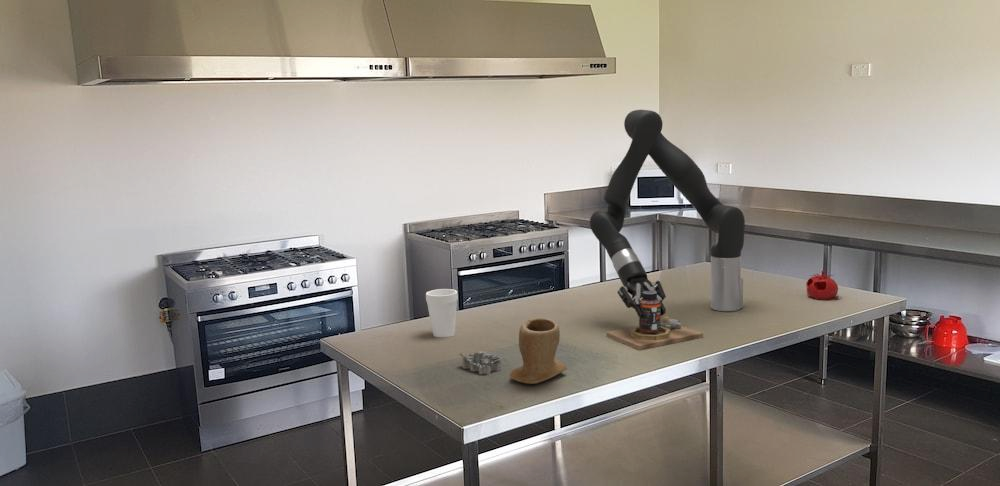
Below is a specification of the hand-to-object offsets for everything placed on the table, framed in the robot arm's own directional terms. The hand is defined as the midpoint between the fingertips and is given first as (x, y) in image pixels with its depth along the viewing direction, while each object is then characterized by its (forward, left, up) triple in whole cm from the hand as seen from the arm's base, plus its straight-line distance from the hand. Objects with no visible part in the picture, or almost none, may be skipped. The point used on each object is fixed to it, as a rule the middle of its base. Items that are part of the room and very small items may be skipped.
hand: (653, 315), depth 219 cm
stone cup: (+42, +10, -7) cm, 44 cm away
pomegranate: (-75, -9, -7) cm, 76 cm away
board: (-2, -3, -7) cm, 8 cm away
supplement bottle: (0, -2, -5) cm, 5 cm away
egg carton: (+51, -5, -8) cm, 52 cm away
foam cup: (+48, -40, -7) cm, 63 cm away
